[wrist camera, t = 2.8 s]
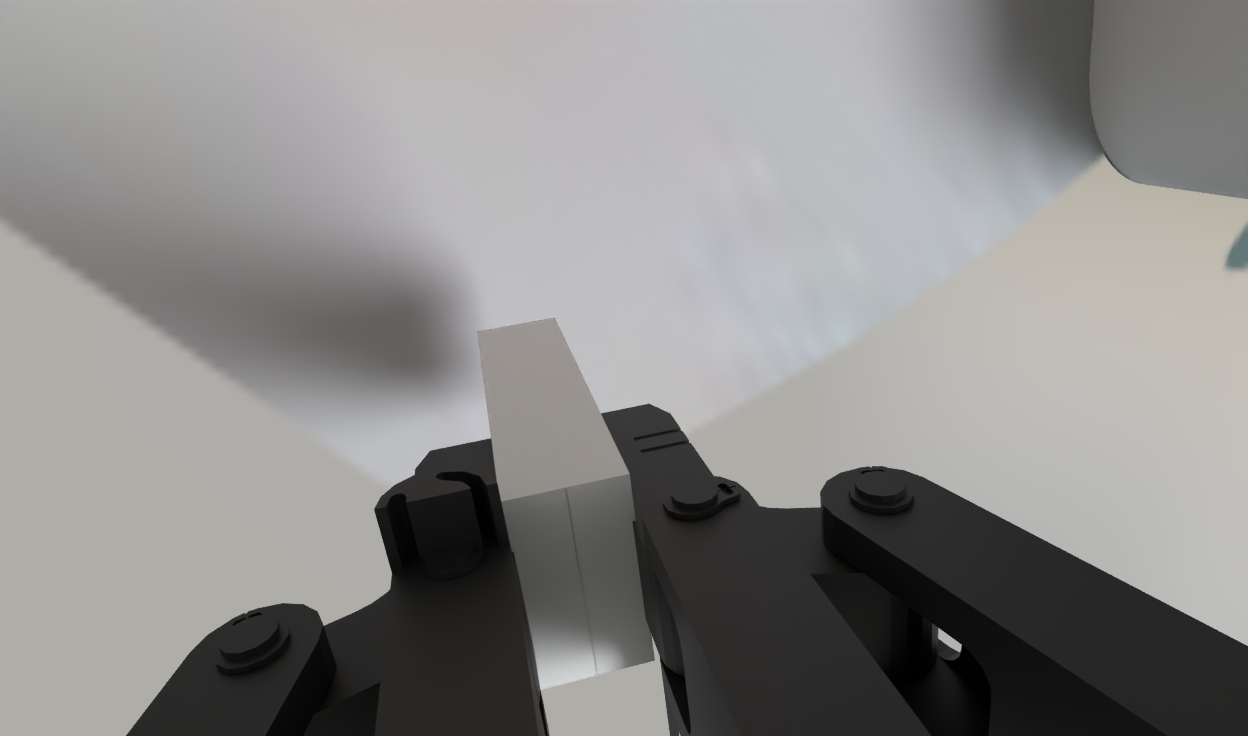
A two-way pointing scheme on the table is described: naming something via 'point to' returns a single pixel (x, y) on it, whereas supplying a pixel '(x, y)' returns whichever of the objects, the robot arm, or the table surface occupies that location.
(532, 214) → the table surface
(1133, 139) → the lumpy-topped squat cylinder
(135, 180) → the table surface
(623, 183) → the table surface
